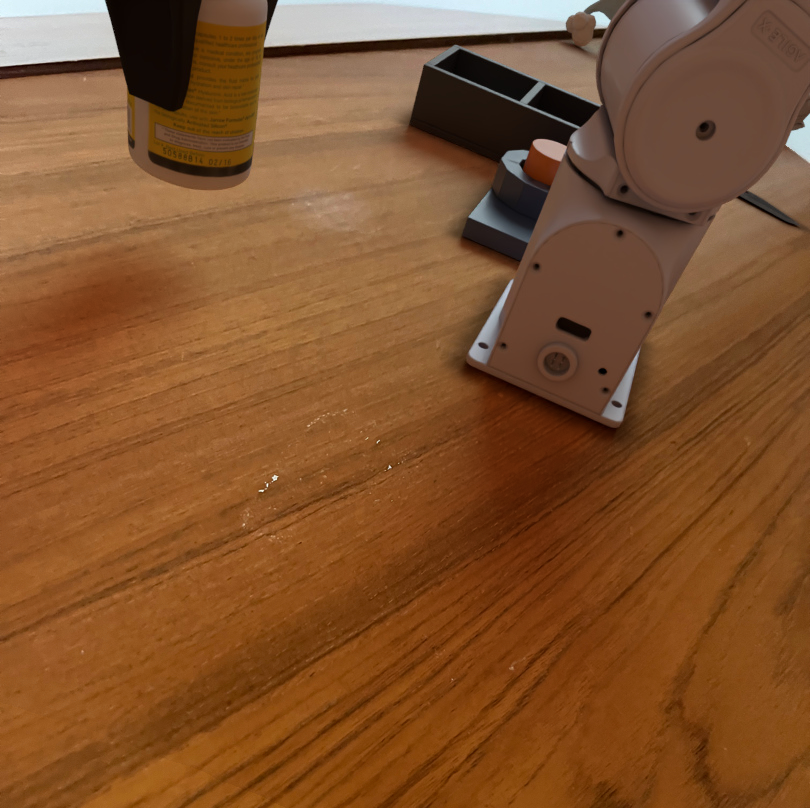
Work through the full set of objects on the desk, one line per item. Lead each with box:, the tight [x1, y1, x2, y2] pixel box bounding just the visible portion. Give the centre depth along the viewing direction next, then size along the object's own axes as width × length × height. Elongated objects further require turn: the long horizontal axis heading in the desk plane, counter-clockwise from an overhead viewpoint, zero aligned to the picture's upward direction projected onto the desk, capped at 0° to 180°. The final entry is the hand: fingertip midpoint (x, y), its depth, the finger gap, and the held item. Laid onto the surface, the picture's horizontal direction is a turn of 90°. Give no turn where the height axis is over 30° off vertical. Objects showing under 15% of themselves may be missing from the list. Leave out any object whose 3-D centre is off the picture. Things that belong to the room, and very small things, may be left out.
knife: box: [739, 190, 801, 227], centre depth 64 cm, size 16×1×3 cm
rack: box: [408, 44, 602, 163], centre depth 56 cm, size 8×15×4 cm, turn 70°
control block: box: [461, 150, 551, 262], centre depth 47 cm, size 10×8×3 cm
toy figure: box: [565, 0, 627, 47], centre depth 82 cm, size 17×10×15 cm
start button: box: [523, 139, 567, 186], centre depth 47 cm, size 3×3×2 cm
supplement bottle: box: [126, 0, 267, 191], centre depth 31 cm, size 5×5×10 cm
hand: (195, 84), depth 32 cm, fingers closed on supplement bottle, 5 cm apart
